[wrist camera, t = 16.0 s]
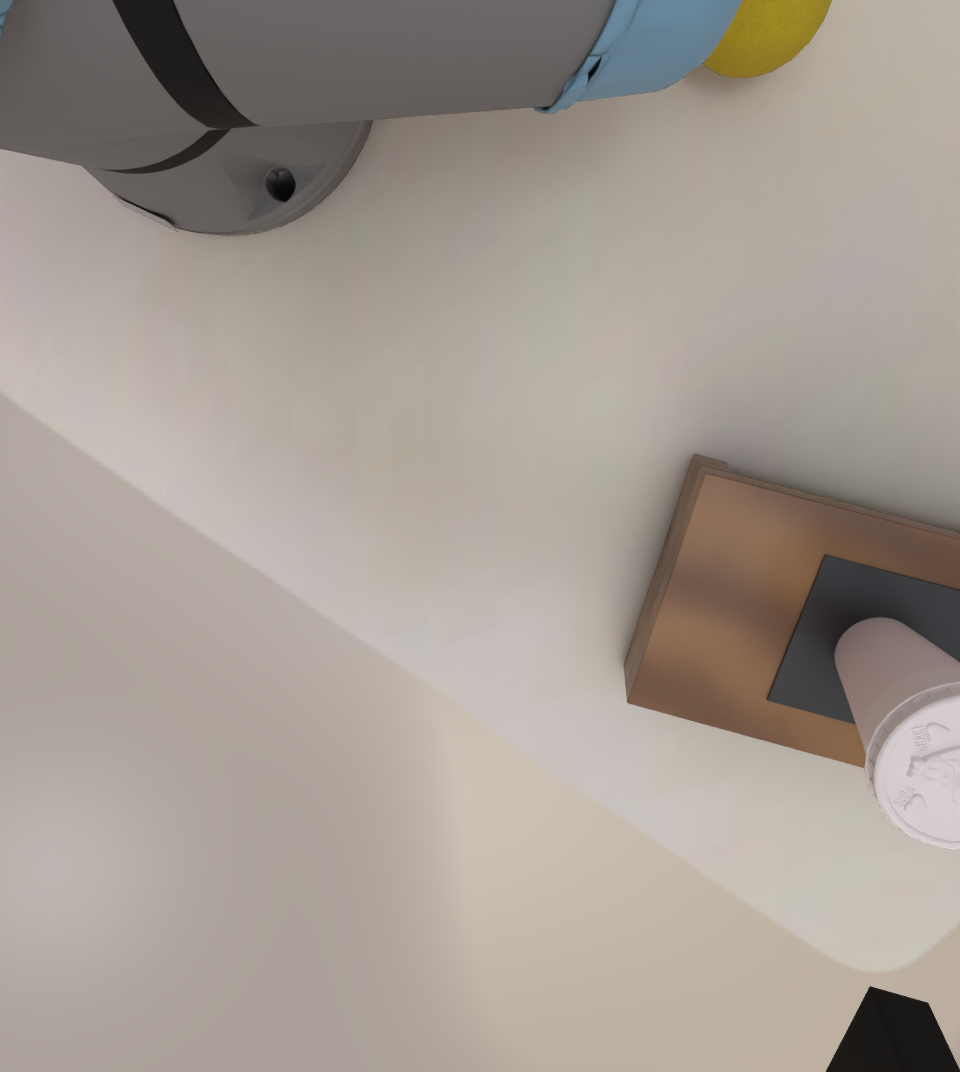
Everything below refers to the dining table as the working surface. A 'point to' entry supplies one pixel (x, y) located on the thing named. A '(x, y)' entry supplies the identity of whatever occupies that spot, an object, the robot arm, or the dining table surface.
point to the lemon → (766, 36)
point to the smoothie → (906, 725)
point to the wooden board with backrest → (780, 607)
